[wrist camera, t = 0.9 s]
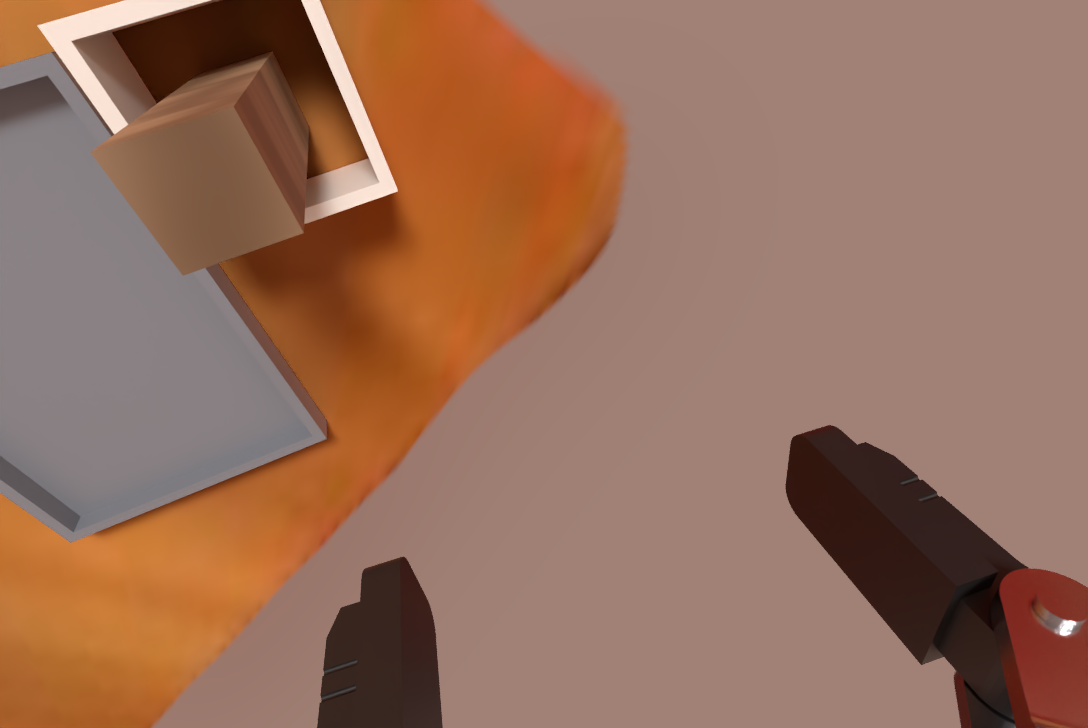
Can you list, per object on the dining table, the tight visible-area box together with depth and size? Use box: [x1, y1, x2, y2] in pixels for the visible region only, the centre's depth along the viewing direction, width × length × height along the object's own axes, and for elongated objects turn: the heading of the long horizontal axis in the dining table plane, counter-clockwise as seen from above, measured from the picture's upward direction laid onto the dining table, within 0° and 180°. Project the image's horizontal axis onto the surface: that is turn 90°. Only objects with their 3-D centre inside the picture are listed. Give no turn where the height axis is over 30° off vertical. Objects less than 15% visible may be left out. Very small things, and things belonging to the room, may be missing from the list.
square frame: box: [37, 0, 398, 224], centre depth 22 cm, size 9×9×4 cm
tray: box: [0, 51, 327, 542], centre depth 26 cm, size 15×21×2 cm
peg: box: [90, 51, 309, 276], centre depth 18 cm, size 3×3×14 cm
